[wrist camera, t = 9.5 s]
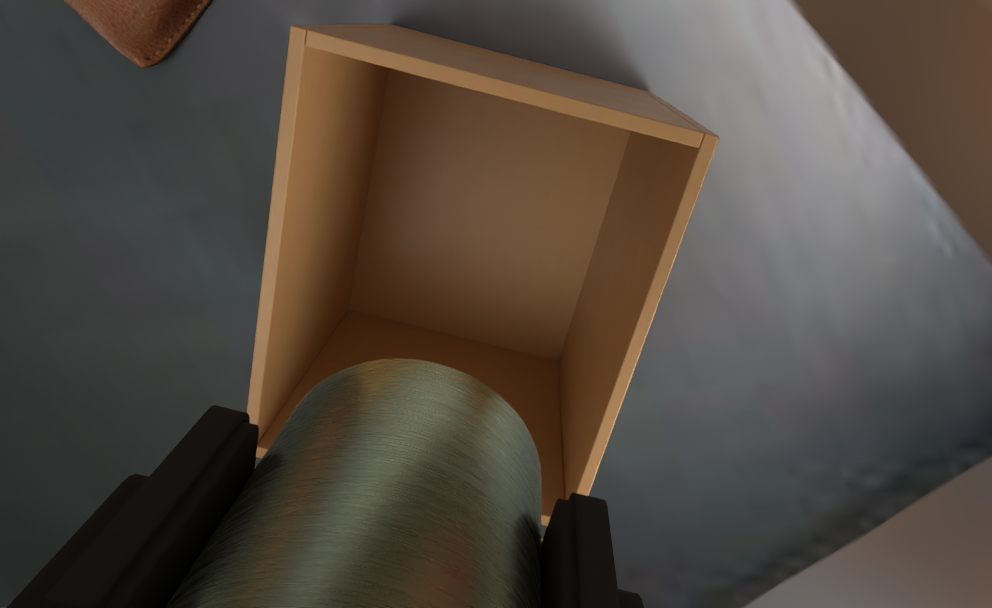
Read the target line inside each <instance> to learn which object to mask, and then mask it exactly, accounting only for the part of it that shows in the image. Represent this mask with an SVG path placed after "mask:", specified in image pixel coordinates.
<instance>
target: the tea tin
mask: <svg viewBox="0 0 992 608" xmlns="http://www.w3.org/2000/svg"><path fill="white" fill-rule="evenodd" d="M541 497H542V477H541V464H540V460H539V456H538V452H537V448H536V446H535V443H534V441H533V438H532V436H531V434H530V432H529V431H528V429H527V427H526V425H525V424H524V422H523V421H522V419H521V418H520V417H519V415H518V414H517V413H516V412H515V410H514V409H513V408H512V407H511V406H510V405H509V404H508V403H507V402H506V401H505V400H504V399H503V398H502V397H501V396H500V395H499V394H498V393H496V392H495V391H494V390H492V389H491V388H490V387H488V386H487V385H486V384H484V383H482V382H481V381H479V380H477V379H476V378H474V377H472V376H471V375H468V374H466V373H464V372H462V371H459V370H457V369H455V368H452V367H449V366H445V365H442V364H439V363H435V362H430V361H424V360H419V359H406V358H393V359H380V360H374V361H368V362H363V363H360V364H357V365H354V366H351V367H347V368H345V369H343V370H341V371H339V372H336V373H334V374H332V375H331V376H329V377H327V378H326V379H324V380H323V381H321V382H320V383H318V384H317V385H316V386H315V387H314V388H312V389H311V390H310V391H309V392H308V393H307V394H306V395H305V396H304V397H303V398H302V400H301V401H300V402H299V403H298V404H297V406H296V407H295V409H294V410H293V412H292V413H291V415H290V417H289V418H288V420H287V421H286V423H285V424H284V426H283V427H282V429H281V430H280V432H279V433H278V435H277V436H276V438H275V440H274V441H273V443H272V444H271V446H270V447H269V449H268V450H267V452H266V453H265V455H264V456H263V458H262V460H261V461H260V463H259V464H258V466H257V467H256V469H255V470H254V472H253V473H252V475H251V476H250V478H249V480H248V481H247V483H246V484H245V486H244V487H243V489H242V490H241V492H240V493H239V495H238V496H237V498H236V499H235V501H234V503H233V504H232V506H231V507H230V509H229V510H228V512H227V513H226V515H225V516H224V518H223V519H222V521H221V523H220V524H219V526H218V527H217V529H216V530H215V532H214V533H213V535H212V536H211V538H210V539H209V541H208V543H207V544H206V546H205V547H204V549H203V550H202V552H201V553H200V555H199V556H198V558H197V559H196V561H195V563H194V564H193V566H192V567H191V569H190V570H189V572H188V573H187V575H186V576H185V578H184V579H183V581H182V582H181V584H180V586H179V587H178V589H177V590H176V592H175V593H174V595H173V596H172V598H171V599H170V601H169V602H168V604H167V606H166V607H165V608H541Z"/></svg>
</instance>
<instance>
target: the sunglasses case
mask: <svg viewBox="0 0 992 608" xmlns="http://www.w3.org/2000/svg"><path fill="white" fill-rule="evenodd" d="M63 1H65V2H66V3H67V4H68V5H69V6H71V7H72V8H73V9H74V10H75V11H76V12H77V13H78V14H79V15H80V16H81V17H82V18H83V19H84V20H85V21H86V22H87V23H88V24H90V25H91V26H92V27H93V28H94V29H95V30H96V31H97V32H98V34H100V35H101V36H102V37H104V38H105V39H106V40H107V41H108V42H109V43H110V44H111V45H112V46H113V47H115V48H116V49H117V50H118V51H119V52H120V53H122V54H123V55H125V56H126V57H128V58H129V59H130V60H131V61H133V62H134V63H136V64H137V65H138V66H139V67H141V68H146V67H150V66H154V65H156V64H159V63H160V62H162V61H163V60H165V59H166V58H167V56H168V55H169V54H170V53H171V52H172V50H173V49H174V48H175V47H176V46H177V45H178V43H179V42H180V41H181V40H182V39H183V38H184V36H185V35H186V34H187V33H188V32H189V30H190V29H191V28H192V27H193V26H194V24H195V23H196V22H197V20H198V19H199V18H200V16H201V15H202V14H203V12H204V11H205V10H206V9H207V7H208V6H209V5H210V4H211V2H212V1H213V0H63Z"/></svg>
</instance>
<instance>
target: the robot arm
mask: <svg viewBox="0 0 992 608" xmlns="http://www.w3.org/2000/svg"><path fill="white" fill-rule="evenodd" d="M258 436H259V426H258V425H255V424H251V423H250V417H249V414H248V413H245V412H240V411H236V410H232V409H228V408H224V407H220V406H216V405H214V406H211V407H210V408H209V409H208V410H207V411H206V412H205V414H204V415H203V416H202V417H201V418H200V419H199V420H198V422H197V423H196V424H195V425H194V426H193V427H192V428H191V430H190V431H189V432H188V433H187V434H186V435H185V436H184V438H183V439H182V440H181V441H180V442H179V443H178V445H177V446H176V447H175V448H174V449H173V450H172V451H171V453H170V454H169V455H168V456H167V457H166V458H165V459H164V461H163V462H162V463H161V464H160V465H159V466H158V467H157V469H156V470H155V471H154V472H153V473H152V474H151V475H150V477H147V476H143V475H139V474H134V475H131V476H129V477H128V478H127V479H126V480H124V481H123V482H122V483H121V484H120V485H119V486H118V488H117V489H116V490H115V491H114V492H113V493H112V494H111V495H110V496H109V497H108V498H107V499H106V501H105V502H104V503H103V504H102V505H101V506H100V507H99V508H98V509H97V510H96V511H95V512H94V514H93V515H92V516H91V517H90V518H89V519H88V520H87V521H86V522H85V523H84V524H83V526H82V527H81V528H80V529H79V530H78V531H77V532H76V533H75V534H74V535H73V536H72V537H71V539H70V540H69V541H68V542H67V543H66V544H65V545H64V546H63V547H62V548H61V549H60V550H59V552H58V553H57V554H56V555H55V556H54V557H53V558H52V559H51V560H50V561H49V562H48V564H47V565H46V566H45V567H44V568H43V569H42V570H41V571H40V572H39V573H38V574H37V575H36V577H35V578H34V579H33V580H32V581H31V582H30V583H29V584H28V585H27V586H26V587H25V588H24V590H23V591H22V592H21V593H20V594H19V595H18V596H17V597H16V598H15V599H14V600H13V602H12V603H11V604H10V605H9V606H8V607H7V608H165V607H166V606H167V604H168V602H169V601H170V599H171V598H172V596H173V595H174V593H175V592H176V590H177V589H178V587H179V586H180V584H181V582H182V581H183V579H184V578H185V576H186V575H187V573H188V572H189V570H190V569H191V567H192V566H193V564H194V563H195V561H196V559H197V558H198V556H199V555H200V553H201V552H202V550H203V549H204V547H205V546H206V544H207V543H208V541H209V539H210V538H211V536H212V535H213V533H214V532H215V530H216V529H217V527H218V526H219V524H220V523H221V521H222V519H223V518H224V516H225V515H226V513H227V512H228V510H229V509H230V507H231V506H232V504H233V503H234V501H235V499H236V498H237V496H238V495H239V493H240V492H241V490H242V489H243V487H244V486H245V484H246V483H247V481H248V480H249V478H250V476H251V475H252V473H253V472H254V468H255V460H256V452H257V444H258ZM0 608H6V607H0ZM541 608H644V607H643V603H642V599H641V597H640V596H639V595H638V594H636V593H632V592H628V591H624V590H620V589H618V588H617V580H616V572H615V564H614V556H613V548H612V540H611V532H610V524H609V516H608V508H607V503H606V501H605V500H602V499H598V498H594V497H590V496H586V495H582V494H578V493H574V492H573V493H571V495H570V496H569V499H568V500H564V499H560V498H558V499H557V501H556V503H555V506H554V509H553V512H552V514H551V517H550V520H549V523H548V526H547V529H546V532H545V535H544V538H543V541H542V543H541Z"/></svg>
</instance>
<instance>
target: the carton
mask: <svg viewBox="0 0 992 608" xmlns="http://www.w3.org/2000/svg"><path fill="white" fill-rule="evenodd" d="M718 140H719V136H718V135H716V134H714V133H713V132H711V131H710V130H708V129H707V128H705V127H704V126H702V125H701V124H699V123H698V122H696V121H694V120H693V119H691V118H690V117H688V116H687V115H685V114H684V113H682V112H681V111H679V110H678V109H676V108H674V107H673V106H671V105H670V104H668V103H667V102H665V101H664V100H662V99H661V98H659V97H658V96H656V95H654V94H653V93H651V92H648V91H645V90H641V89H637V88H633V87H629V86H626V85H622V84H618V83H614V82H610V81H606V80H603V79H599V78H595V77H591V76H587V75H583V74H580V73H576V72H572V71H568V70H564V69H561V68H557V67H553V66H549V65H545V64H541V63H538V62H534V61H530V60H526V59H522V58H518V57H515V56H511V55H507V54H503V53H499V52H496V51H492V50H488V49H484V48H480V47H476V46H473V45H469V44H465V43H461V42H457V41H453V40H450V39H446V38H442V37H438V36H434V35H431V34H427V33H423V32H419V31H415V30H411V29H408V28H404V27H400V26H396V25H392V24H342V25H291V27H290V35H289V44H288V53H287V62H286V71H285V80H284V88H283V97H282V106H281V115H280V124H279V133H278V141H277V150H276V159H275V168H274V177H273V186H272V194H271V203H270V212H269V221H268V230H267V239H266V248H265V256H264V265H263V274H262V283H261V292H260V301H259V309H258V318H257V327H256V336H255V345H254V354H253V362H252V371H251V380H250V389H249V398H248V407H247V413H248V414H249V417H250V423H251V424H255V425H258V426H259V436H258V444H257V452H256V457H259V458H263V456H264V455H265V453H266V452H267V450H268V449H269V447H270V446H271V444H272V443H273V441H274V440H275V438H276V436H277V435H278V433H279V432H280V430H281V429H282V427H283V426H284V424H285V423H286V421H287V420H288V418H289V417H290V415H291V413H292V412H293V410H294V409H295V407H296V406H297V404H298V403H299V402H300V401H301V400H302V398H303V397H304V396H305V395H306V394H307V393H308V392H309V391H310V390H311V389H312V388H314V387H315V386H316V385H317V384H318V383H320V382H321V381H323V380H324V379H326V378H327V377H329V376H331V375H332V374H334V373H336V372H339V371H341V370H343V369H345V368H347V367H351V366H354V365H357V364H360V363H363V362H368V361H374V360H380V359H393V358H406V359H419V360H424V361H430V362H435V363H439V364H442V365H445V366H449V367H452V368H455V369H457V370H459V371H462V372H464V373H466V374H468V375H471V376H472V377H474V378H476V379H477V380H479V381H481V382H482V383H484V384H486V385H487V386H488V387H490V388H491V389H492V390H494V391H495V392H496V393H498V394H499V395H500V396H501V397H502V398H503V399H504V400H505V401H506V402H507V403H508V404H509V405H510V406H511V407H512V408H513V409H514V410H515V412H516V413H517V414H518V415H519V417H520V418H521V419H522V421H523V422H524V424H525V425H526V427H527V429H528V431H529V432H530V434H531V436H532V438H533V441H534V443H535V446H536V448H537V452H538V456H539V460H540V464H541V477H542V497H541V525H545V526H548V523H549V520H550V517H551V514H552V512H553V509H554V506H555V503H556V501H557V499H558V498H560V499H564V500H568V499H569V496H570V495H571V493H573V492H574V493H578V494H582V495H586V496H588V495H589V492H590V489H591V487H592V484H593V481H594V478H595V476H596V473H597V470H598V467H599V465H600V462H601V459H602V457H603V454H604V451H605V448H606V446H607V443H608V440H609V437H610V435H611V432H612V429H613V427H614V424H615V421H616V418H617V416H618V413H619V410H620V407H621V405H622V402H623V399H624V397H625V394H626V391H627V388H628V386H629V383H630V380H631V378H632V375H633V372H634V369H635V367H636V364H637V361H638V358H639V356H640V353H641V350H642V348H643V345H644V342H645V339H646V337H647V334H648V331H649V328H650V326H651V323H652V320H653V318H654V315H655V312H656V309H657V307H658V304H659V301H660V298H661V296H662V293H663V290H664V288H665V285H666V282H667V279H668V277H669V274H670V271H671V269H672V266H673V263H674V260H675V258H676V255H677V252H678V249H679V247H680V244H681V241H682V239H683V236H684V233H685V230H686V228H687V225H688V222H689V219H690V217H691V214H692V211H693V209H694V206H695V203H696V200H697V198H698V195H699V192H700V189H701V187H702V184H703V181H704V179H705V176H706V173H707V170H708V168H709V165H710V162H711V159H712V157H713V154H714V151H715V149H716V146H717V143H718Z"/></svg>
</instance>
